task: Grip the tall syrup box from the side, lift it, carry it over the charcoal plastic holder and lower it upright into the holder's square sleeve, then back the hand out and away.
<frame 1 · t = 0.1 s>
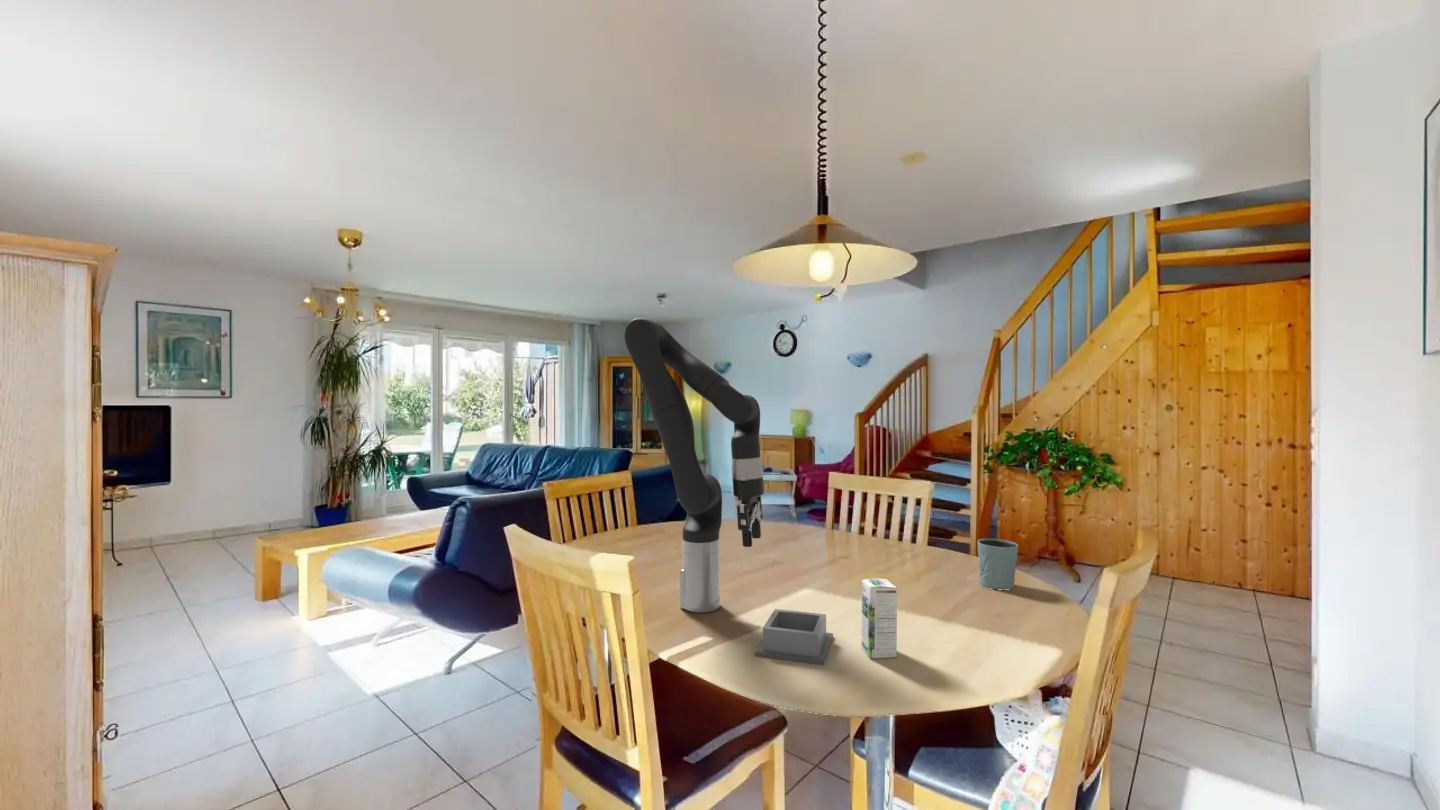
hand: (752, 542, 143), 17 cm above the table, tool pointing down, fingers open, 8 cm apart
holder: (795, 645, 124), on the table
syrup box: (879, 653, 120), on the table
grey-green plant pot: (997, 586, 162), on the table
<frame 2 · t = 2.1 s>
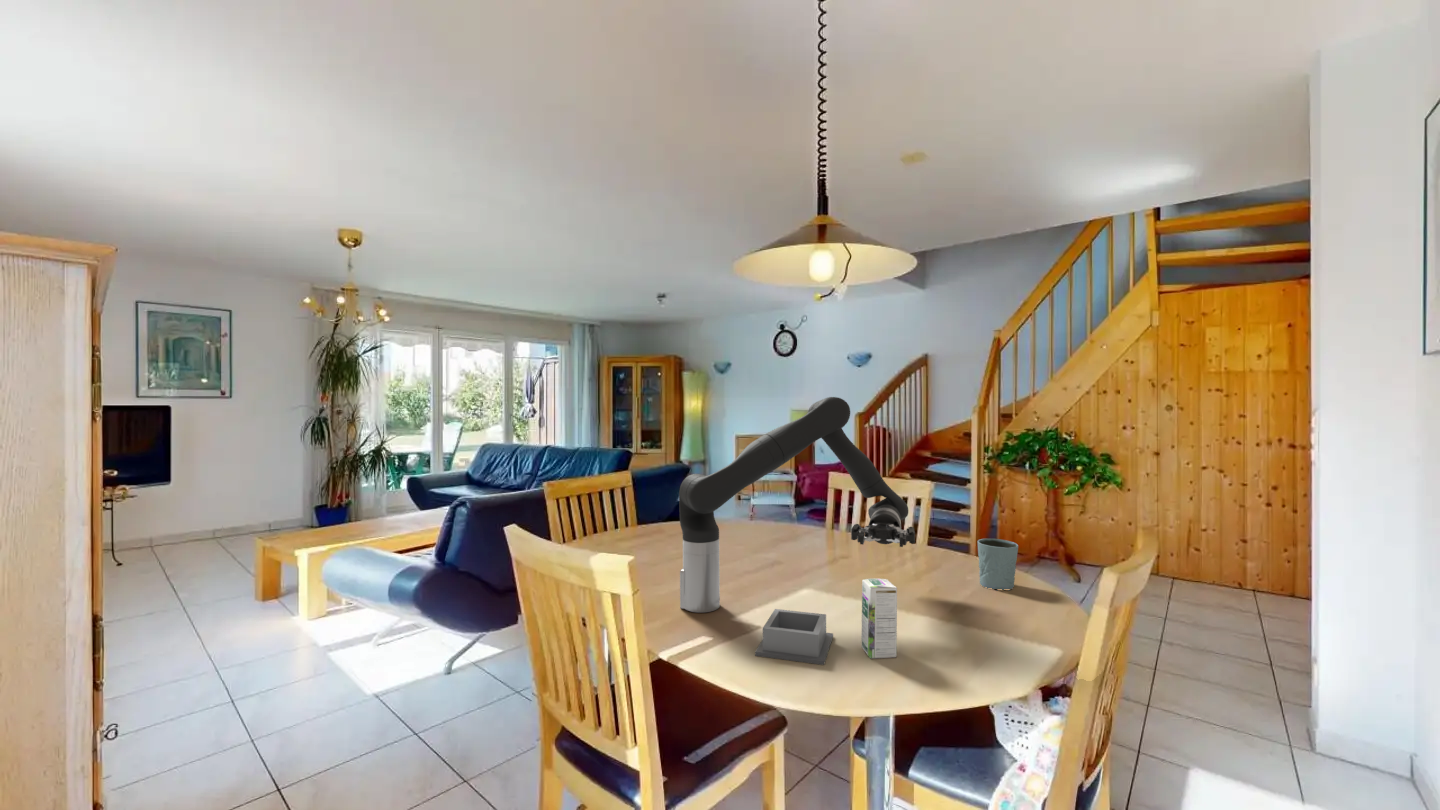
hand: (881, 541, 130), 20 cm above the table, tool horizontal, fingers open, 8 cm apart
nothing on the table moved.
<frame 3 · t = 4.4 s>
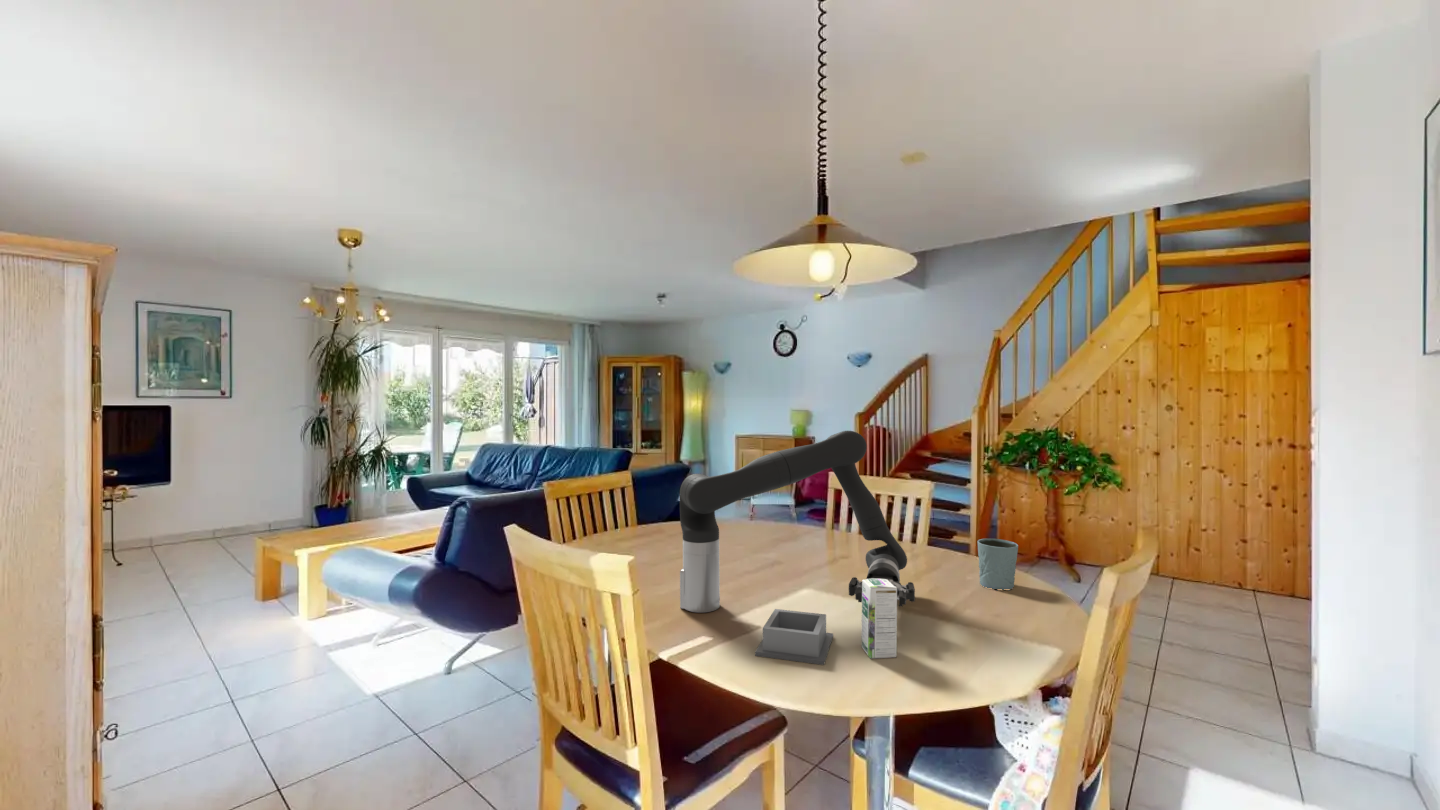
hand: (880, 599, 126), 9 cm above the table, tool horizontal, fingers open, 8 cm apart
nothing on the table moved.
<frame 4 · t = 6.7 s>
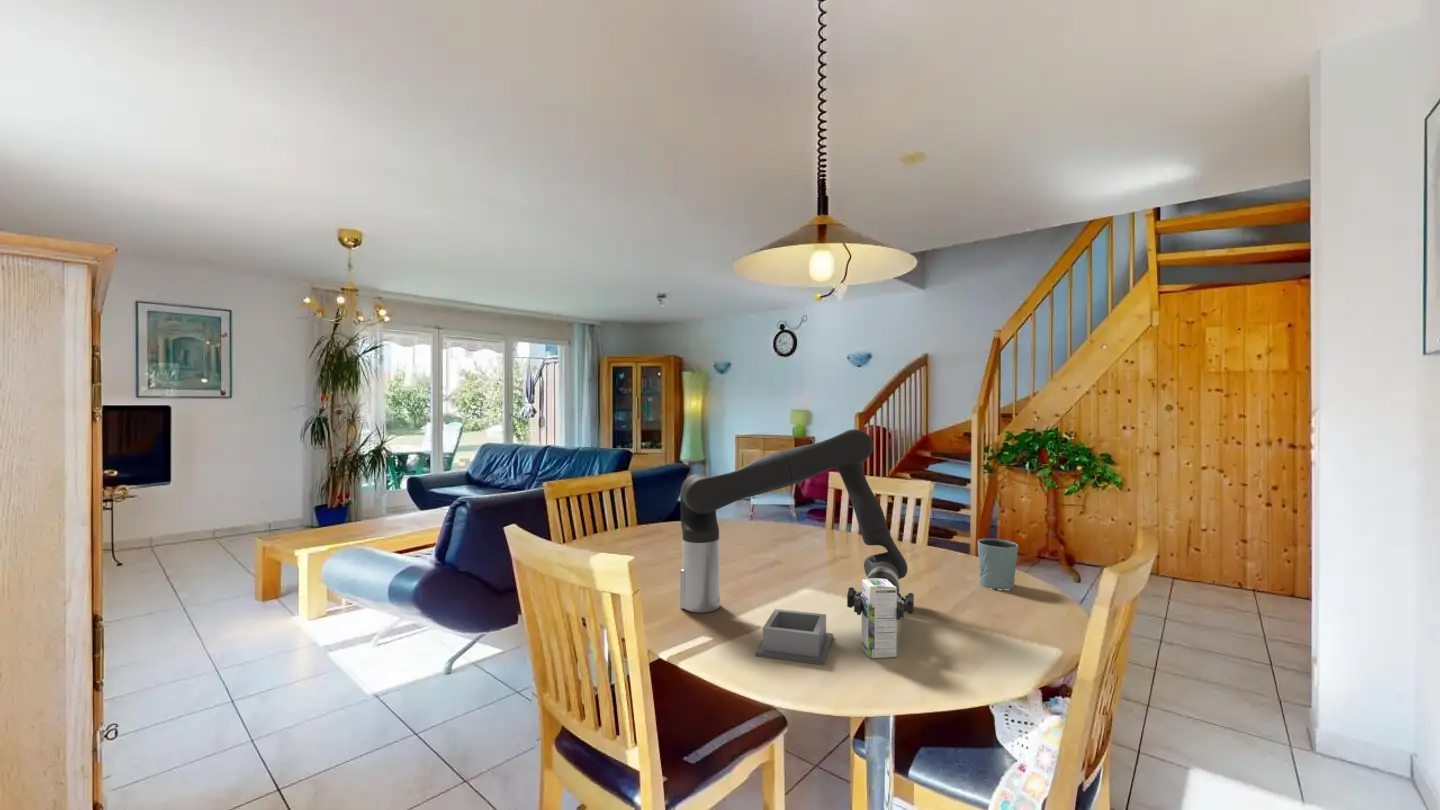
hand: (878, 612, 118), 9 cm above the table, tool horizontal, fingers closed on syrup box, 7 cm apart
syrup box: (879, 653, 120), on the table, touching gripper
everything else where it was.
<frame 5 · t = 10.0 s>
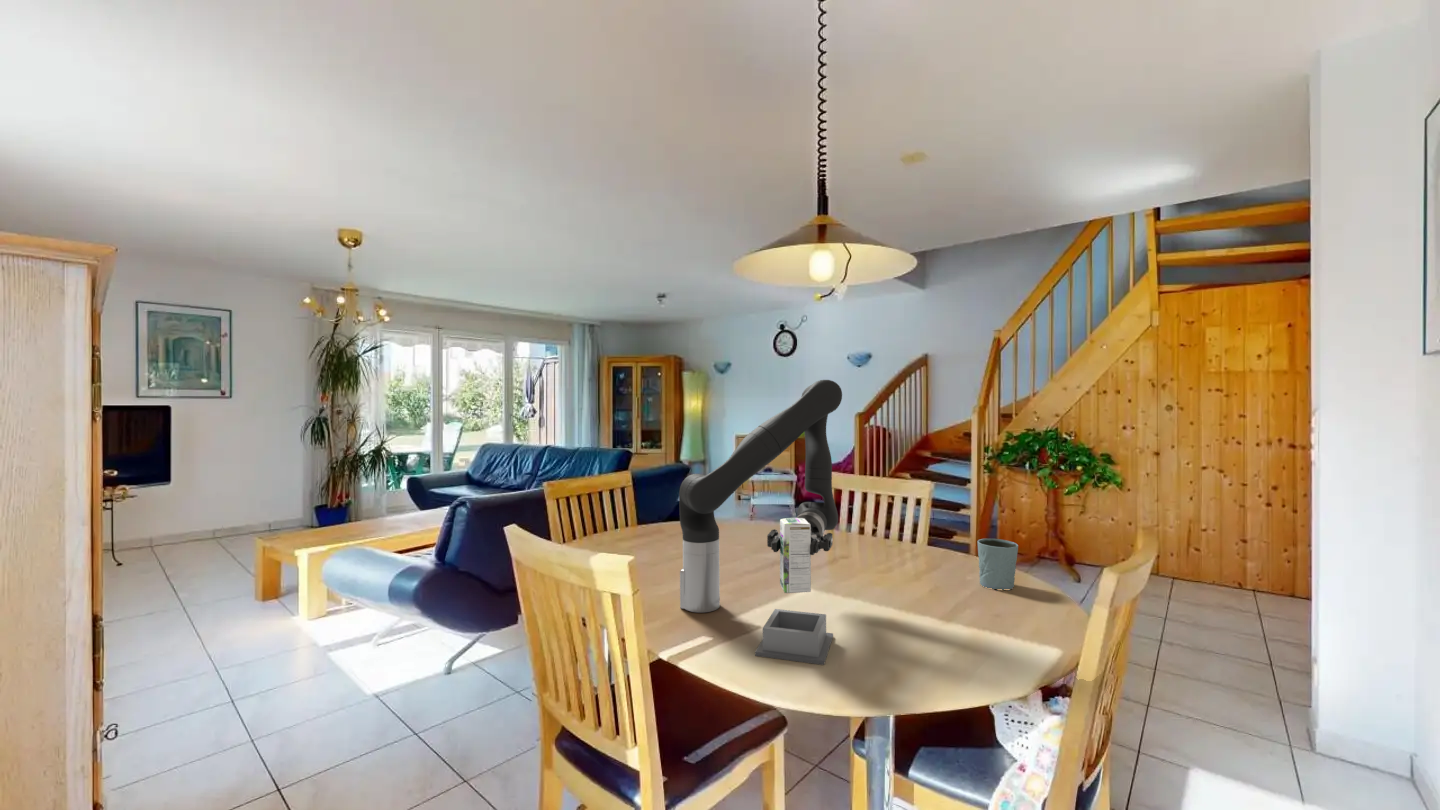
hand: (793, 548, 121), 21 cm above the table, tool horizontal, fingers closed on syrup box, 7 cm apart
syrup box: (795, 589, 124), point 12 cm above the table, touching gripper
everything else where it was.
when the fingers open (11 cm above the table, at t = 13.3 s): syrup box drops 1 cm, resting on holder.
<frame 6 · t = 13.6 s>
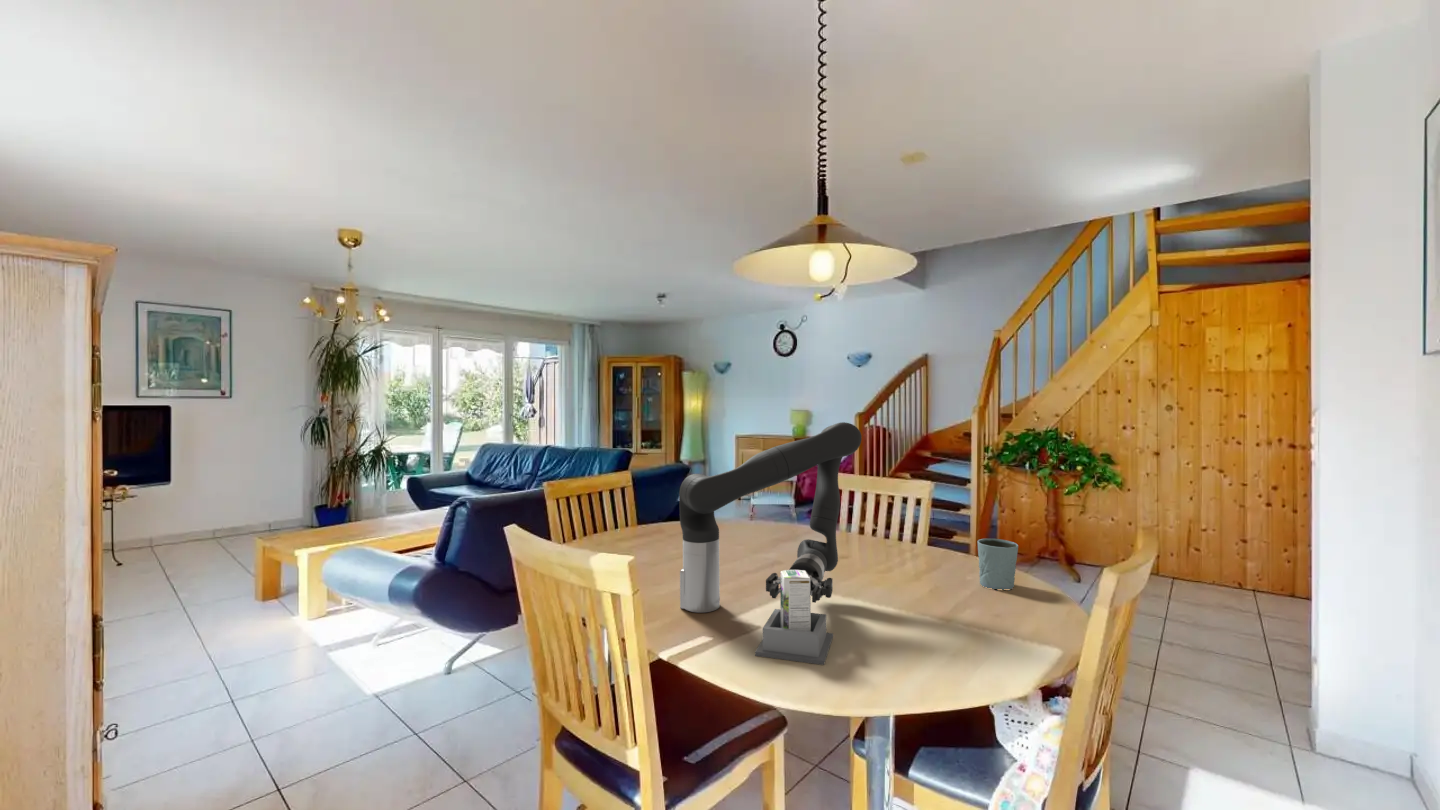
hand: (793, 595, 122), 11 cm above the table, tool horizontal, fingers open, 8 cm apart
syrup box: (795, 642, 124), point 1 cm above the table, touching holder
everything else where it was.
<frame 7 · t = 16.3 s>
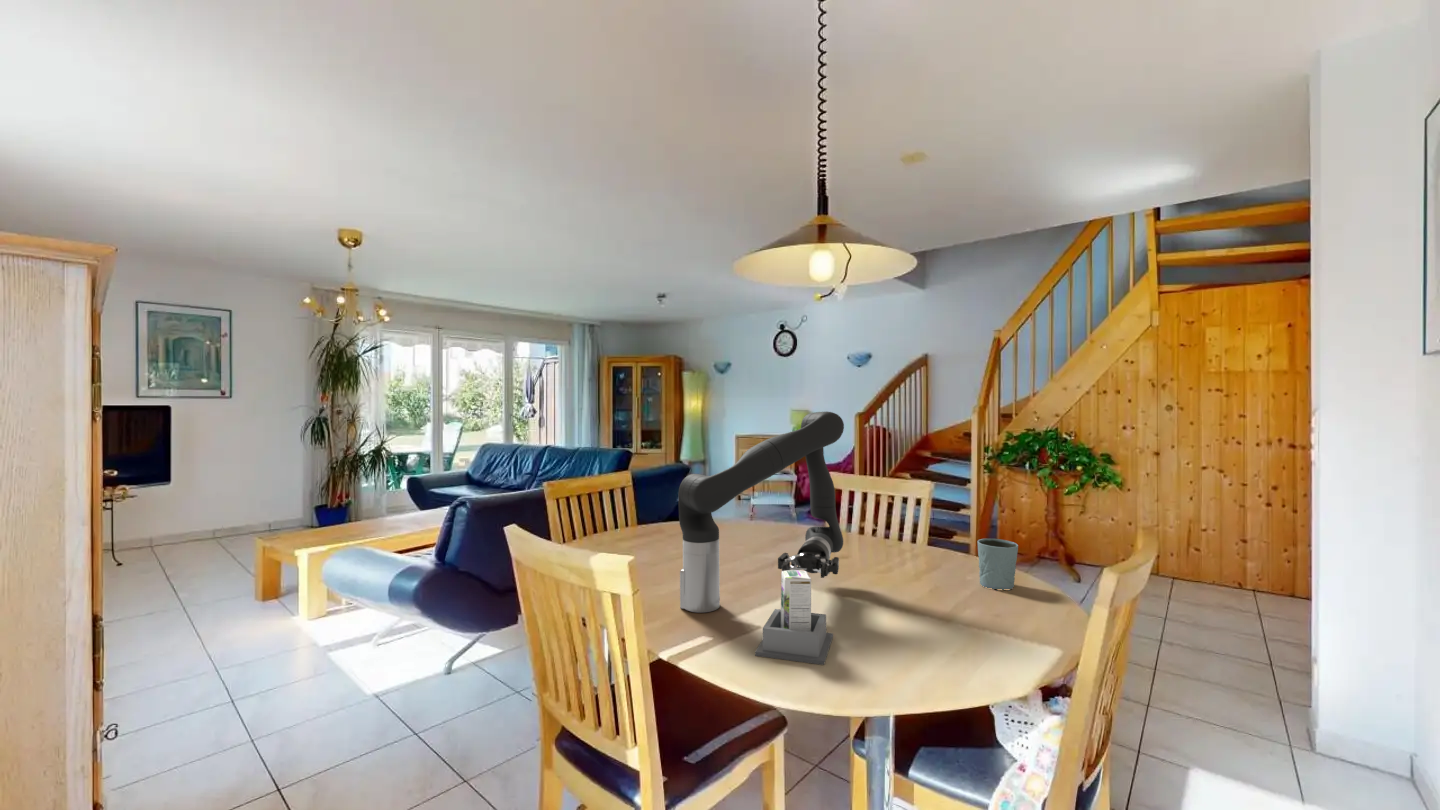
hand: (803, 571, 134), 13 cm above the table, tool horizontal, fingers open, 8 cm apart
nothing on the table moved.
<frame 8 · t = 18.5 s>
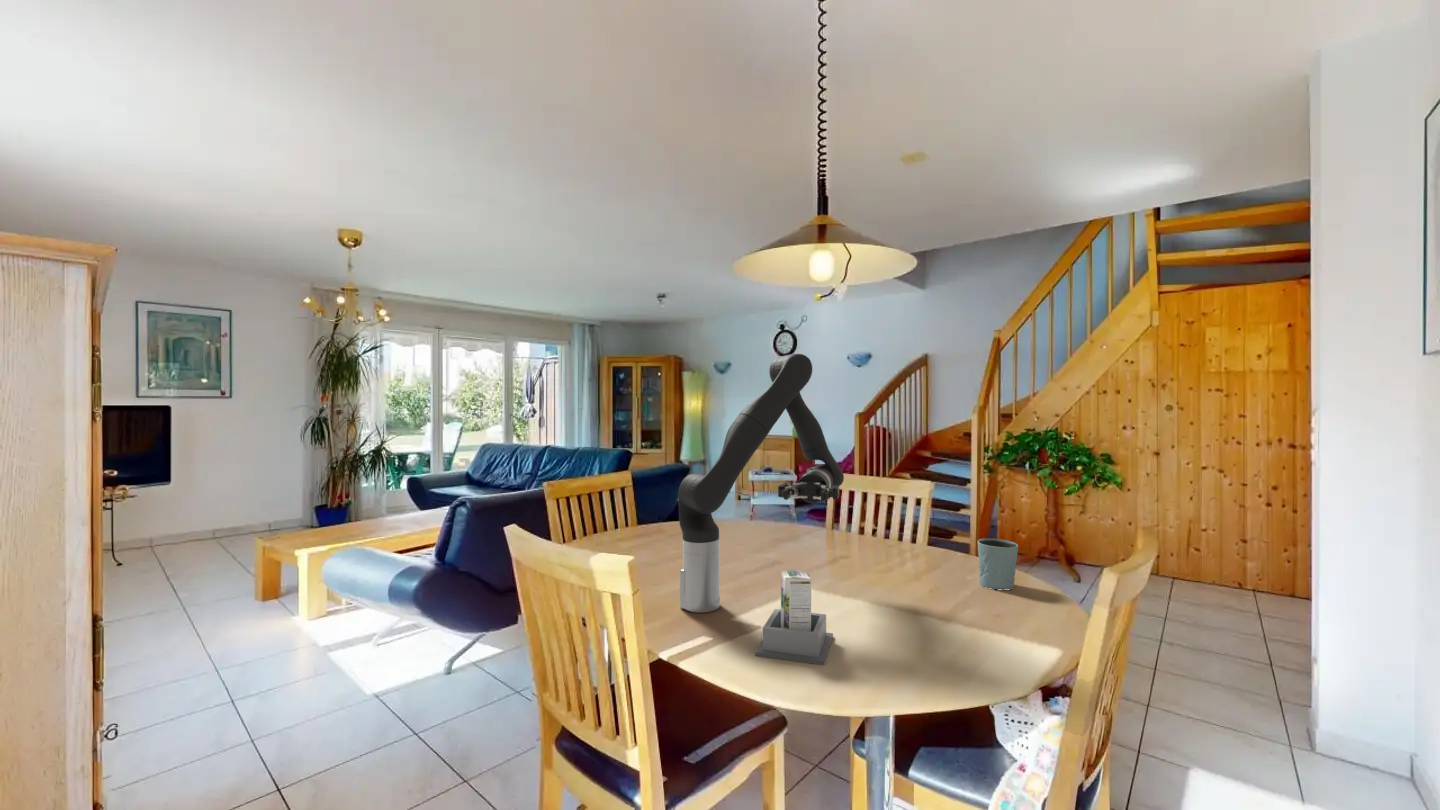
hand: (803, 496, 134), 30 cm above the table, tool horizontal, fingers open, 8 cm apart
nothing on the table moved.
at the end: syrup box 0.2 cm off-centre on the holder, point 0.6 cm above the holder's base; syrup box tilted 0°; the gripper is holding nothing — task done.
